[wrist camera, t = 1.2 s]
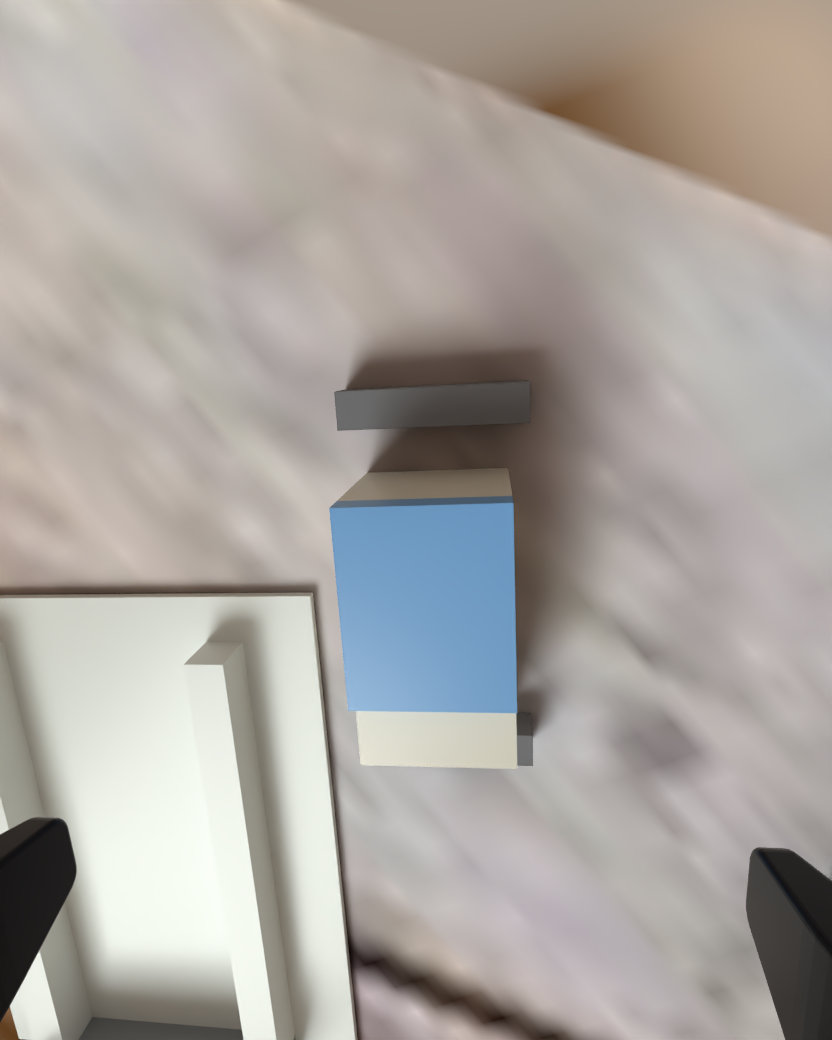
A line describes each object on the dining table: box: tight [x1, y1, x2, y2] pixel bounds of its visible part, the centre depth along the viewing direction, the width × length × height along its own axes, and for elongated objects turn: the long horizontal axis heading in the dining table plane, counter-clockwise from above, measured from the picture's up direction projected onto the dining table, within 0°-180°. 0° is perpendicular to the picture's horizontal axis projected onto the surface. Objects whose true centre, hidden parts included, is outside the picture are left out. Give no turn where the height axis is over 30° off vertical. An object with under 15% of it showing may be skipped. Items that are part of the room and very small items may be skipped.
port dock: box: [0, 593, 358, 1040], centre depth 21 cm, size 14×19×3 cm
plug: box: [329, 468, 517, 769], centre depth 16 cm, size 4×7×4 cm, turn 3°
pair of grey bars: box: [334, 381, 533, 766], centre depth 18 cm, size 5×11×1 cm, turn 3°
